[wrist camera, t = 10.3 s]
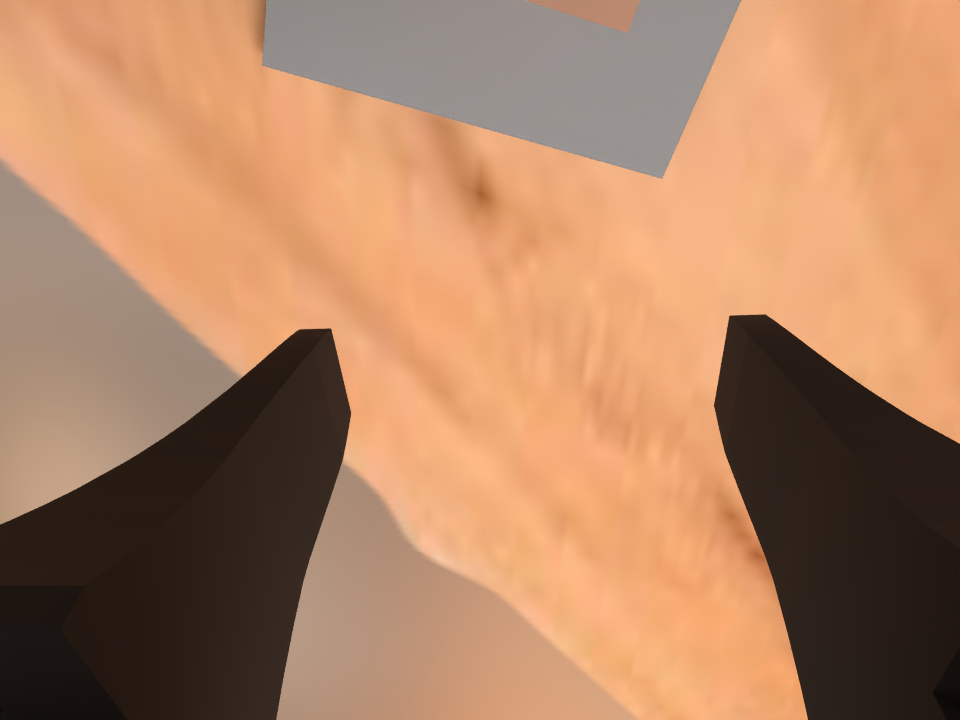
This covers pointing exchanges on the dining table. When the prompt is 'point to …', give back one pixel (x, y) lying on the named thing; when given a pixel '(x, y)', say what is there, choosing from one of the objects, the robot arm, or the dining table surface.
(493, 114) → the slate mat
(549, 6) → the terracotta block
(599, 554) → the dining table surface
